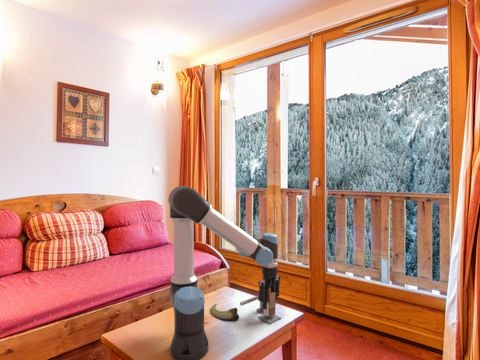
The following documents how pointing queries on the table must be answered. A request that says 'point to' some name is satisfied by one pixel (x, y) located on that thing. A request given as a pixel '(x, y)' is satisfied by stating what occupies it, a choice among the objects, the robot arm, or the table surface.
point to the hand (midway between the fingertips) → (269, 313)
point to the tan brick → (270, 303)
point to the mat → (269, 320)
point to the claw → (225, 313)
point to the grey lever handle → (253, 300)
